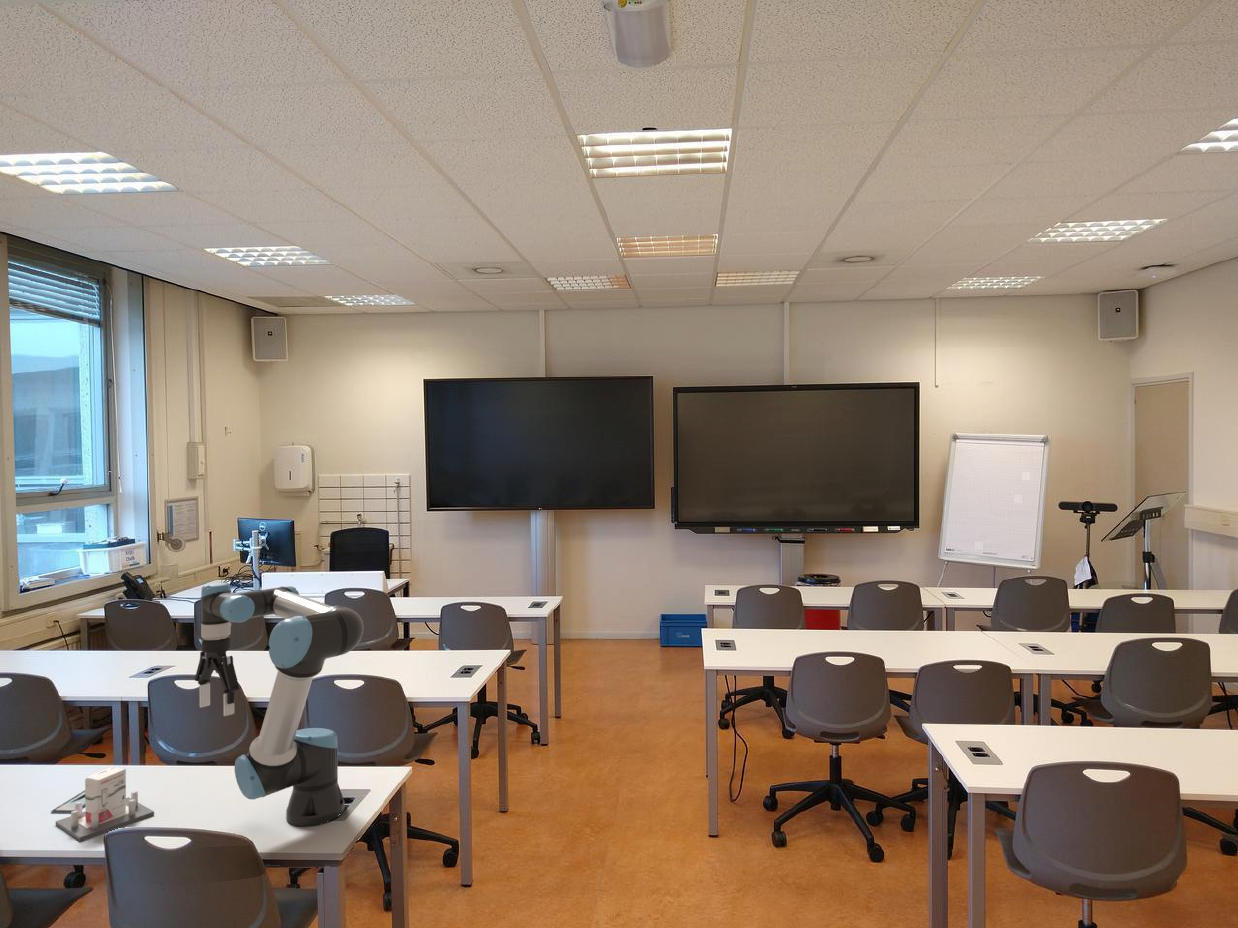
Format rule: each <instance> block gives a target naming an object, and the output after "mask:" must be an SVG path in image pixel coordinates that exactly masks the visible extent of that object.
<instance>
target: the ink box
mask: <svg viewBox="0 0 1238 928" xmlns="http://www.w3.org/2000/svg"><path fill="white" fill-rule="evenodd" d="M126 771H127V769H126V768H123V767H122V768H121V767H116V766H111V767H108V768H106V769H103V770H100V771H98V772H95V773H93V774H91V775H89V776H86V778H85V779H84V786H85V787H84V788H85V789H84V790H85V806H86V807H85V811H86V821H87V822H91V813H93V812H99V823H100V822H102V821H104V820H106V819H108V818H110V817H112V816H115V815H117V814H119V813H121V812H123V811H125V810H126V798H127V795H126V794H127V787H126V786H127V785H126V784H127V779H126V778H127V776H126V775H127V772H126Z"/></svg>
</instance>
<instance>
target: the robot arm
mask: <svg viewBox="0 0 1238 928" xmlns="http://www.w3.org/2000/svg"><path fill="white" fill-rule="evenodd" d="M200 592H201V593H200V594H201V595H200V610H201V611H200V612H201V613H200V615H201V624H200V626H201V627H200V631H201V633H200V634H201V636H200V637H201V638H202V639H201V651H200V652H199V653H200V656H199V661H198V666H197V669H196V673H195V677H194V681H195V682H197V683H198V685H199V687H198V688H199V708H206V707H208V706H211V677H212V675H213V673H214V671H215V674H218V676H219V679H220V682H221V684H222V687H223V689H224V691H223V692H222V693H223V695H222V696H223V717H228V716H231V715H234V714H235V692H236V691H239V690H240V684H239V682H238V677H237V674H236V673H237V672H236V670H235V666H234V657H233V655H229V656H227V651H229V650H230V649H231V648H232V638H231V636H230V635H231V633H232V632H231V631H232V630H231V627H232V623H234V624H235V623H244V622H247V621H249V619H253V618H254V619H255V618H259V617H263V616H265V617H266V616H272V615H274V616H277V617H280V618H282V620H281V621H279V622H278V623H277V624H276V625H275V626H274V627H273V629H272V630H271V632H270V635H269V640H268V647H269V649H268V654H269V658H270V660H271V663H272V664H273V666H274V667H275V669H276V670H277V674H276V677H275V680H274V683H273V687H272V689H271V690H272V691H271V694H270V698H269V701H268V704H267V708H266V712H265V715H264V719H263V722H262V725H261V729H260V732H259V735H258V736H257V737H255V739H253V740H252V742H251V743H250V746H249V749H248V752H247V753H246V754H245V753H244V754H241V755H239V756H237V758H236V759H235V762H234V776H235V780H236V782H237V786H238V788H239V790H240V792H241V793H242V795H243V797H244V798H246V799H248V800H256V799H260V798H265V797H267V796H269V795H272V794H276V793H278V792H280V791H283V790H285V789H289V788H291V787H292V791H291V795H290V797H289V801H288V804H287V807H286V813H285V818H286V819H285V821H286V822H287V823H289V824H290V825H293V826H297V825H300V826H299V827H309V826H310V825H313V826H318V825H317V824H319V825H322V824H321V823H323V824H326V823H328V822H327V821H329V822H331V821H330V820H332V819H334V818H335V817H337V816H338V815H339V814H341V813H342V812H343V810H344V811H345V799H344V797H343V794H342V791H341V787H340V785H339V781H338V779H339V778H338V776H339V775H338V773H339V771H338V770H339V769H338V767H339V766H338V764H339V762H338V760H339V759H338V749H339V745H338V744H339V743H338V736H337V734H336V732H335V731H334V730H332V729H328V728H321V727H307V728H302V729H298V728H299V725H300V722H301V719H302V715H303V712H304V708H305V706H306V702H307V699H308V695H309V692H310V688H311V686H312V682H313V679H314V677H316V676H317V675H319V674H320V673H321V672H322V670H323V667H324V664H325V661H326V660H327V659H330V658H334V657H338V656H343V655H345V654H348V653H350V652H351V651H352V650H354V649H355V648H356V647H357V646H358V645H359V643H360V642H361V640H362V638H363V634H364V629H365V628H364V622H363V619H362V617H361V616H360V614H359V613H358V612H357V611H355V610H354V609H352V608H349V607H347V606H344V605H334V606H332V605H329V604H326V603H324V602H320V601H317V600H314V599H311V598H309V597H306V596H303V595H300V593H299V591H298V590H297V588H296V587H294V586H280V587H279V586H278V587H273V588H265V589H259V590H258V589H257V590H251V591H244V592H237V593H235V592H234V593H233V592H232V589H231V585H230V584H229V583H228V582H212V583H206V584H204V585H202V587H201V591H200ZM343 813H344V812H343ZM343 813H342V814H343ZM342 814H341V815H342ZM337 818H338V817H337ZM334 820H335V819H334ZM332 821H333V820H332ZM325 822H326V823H325ZM310 827H311V826H310Z"/></svg>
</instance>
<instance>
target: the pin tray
mask: <svg viewBox="0 0 1238 928" xmlns="http://www.w3.org/2000/svg"><path fill="white" fill-rule="evenodd" d="M138 798H139V792H138V791H137V790H134V791H131V793H130V797H126V810H125V811H123V812H121V813H119V814H117V815H115V816H112V817H110V818H108V819H106V820H104V821H102V822H100V823H99V812H93V813H91V822H87V821H86V810H85V811H83V809H82V802H77V803H75V811H72V812H71V813H70V816H68V817H65V818H60V819H58V820H56V821H55V826H56V827H58V828H59V829H61V830H62V831H64V832H66V833H67V834H68V835H69V836H71V837H72V838H74V839H75V840H77V841H78V842H82V841H85V840H87V839H91V838H93V837H95V836H100V835H102V834H104V833H108V832H109V831H108V830H110V831H112V830H111V829H113V830H115V829H114V828H116V829H119V828H121V827H124V826H127V825H130V824H133V823H136V822H138V821H141V820H144V819H146V818H149V817H152V816H154V815H155V811H154V810H153V809H150V808H149V807H146V806H145V805H143V804H142V803H140V802H139V799H138ZM107 831H108V832H107Z"/></svg>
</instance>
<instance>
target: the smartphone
mask: <svg viewBox="0 0 1238 928" xmlns="http://www.w3.org/2000/svg"><path fill="white" fill-rule="evenodd" d="M77 802H82V810H83V809H84V808H86V806H85V789H84V790H83V791H81V792H80V793H78V794H76V795H75V796H73V797H71V798H70V799H68V800H67V801H65V802H63V803H61V804H60V805H59V806H57V807H56V808H54V809H52V810H51V811H50V813H51V814H71V812H72V811H75V803H77Z"/></svg>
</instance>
